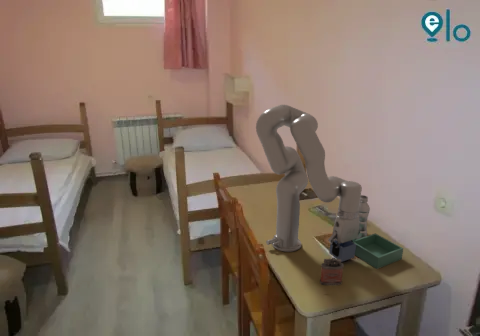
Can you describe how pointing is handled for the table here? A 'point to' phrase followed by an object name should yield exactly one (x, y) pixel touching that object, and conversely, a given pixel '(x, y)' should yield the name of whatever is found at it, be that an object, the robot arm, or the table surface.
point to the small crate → (345, 250)
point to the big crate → (377, 250)
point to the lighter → (331, 272)
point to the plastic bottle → (363, 216)
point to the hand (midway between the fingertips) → (342, 252)
